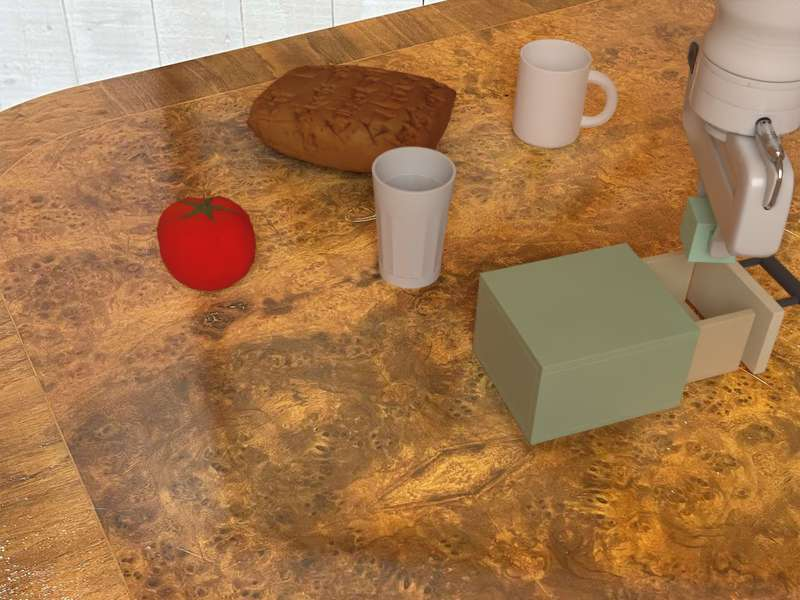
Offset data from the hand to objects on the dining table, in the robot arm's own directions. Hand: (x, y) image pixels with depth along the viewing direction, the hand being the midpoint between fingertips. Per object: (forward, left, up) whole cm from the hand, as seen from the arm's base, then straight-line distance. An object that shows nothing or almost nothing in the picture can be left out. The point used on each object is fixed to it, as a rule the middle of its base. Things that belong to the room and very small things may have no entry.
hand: (711, 233), depth 91 cm
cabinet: (+10, +4, -14) cm, 18 cm away
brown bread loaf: (+32, -33, -14) cm, 48 cm away
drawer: (-1, 0, -13) cm, 13 cm away
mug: (+7, -38, -14) cm, 41 cm away
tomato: (+45, -9, -14) cm, 48 cm away
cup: (+25, -11, -14) cm, 31 cm away
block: (0, 0, -2) cm, 2 cm away
